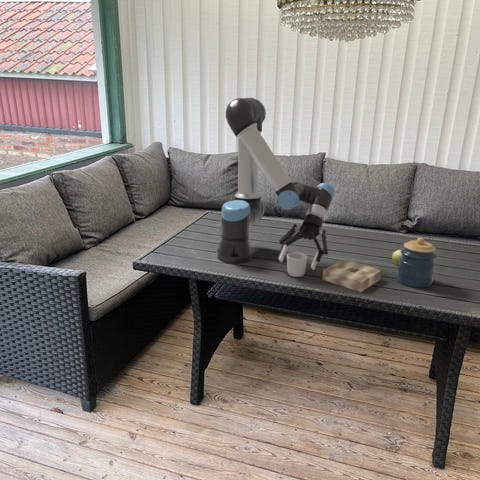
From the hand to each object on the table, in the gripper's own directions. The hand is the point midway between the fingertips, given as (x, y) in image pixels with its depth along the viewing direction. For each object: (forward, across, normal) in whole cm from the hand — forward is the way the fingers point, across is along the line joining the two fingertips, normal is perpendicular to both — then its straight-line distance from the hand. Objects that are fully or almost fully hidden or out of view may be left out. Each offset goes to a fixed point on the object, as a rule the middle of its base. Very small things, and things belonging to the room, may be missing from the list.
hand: (296, 264), depth 175 cm
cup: (+2, 0, -5) cm, 5 cm away
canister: (-12, -40, -19) cm, 46 cm away
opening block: (-3, -20, -10) cm, 22 cm away
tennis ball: (-23, -31, -30) cm, 49 cm away
